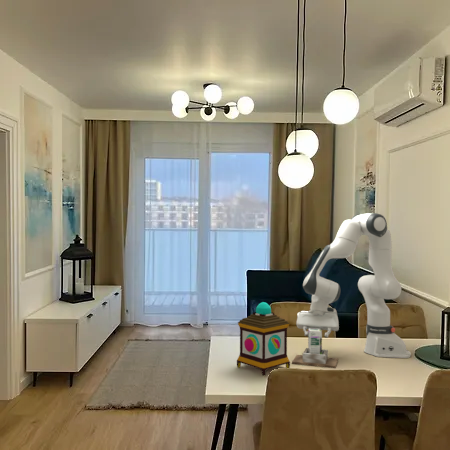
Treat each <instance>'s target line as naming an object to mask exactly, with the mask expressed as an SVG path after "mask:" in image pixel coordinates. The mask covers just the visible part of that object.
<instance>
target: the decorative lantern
mask: <svg viewBox="0 0 450 450" xmlns="http://www.w3.org/2000/svg"><path fill="white" fill-rule="evenodd" d="M237 325H238V327H239V355H238V357H237V360H236V367H237V368H238V369H239V368H241V366H242V365H241V364H244V365H246V366H250V367H252V368H256V369H259V370H260V371H261V374H262V376H263V377H265V376H266V372H267V370H269V369H273V368H275V367H281V366H284V365H285V368H286V369H287V368H289V369H290V368H291V361H290V359H289V357H288V328H289V326H290V322H288V320H285V318H282V317H279V316H278V315H277V314H276V313H275V312H272V308H271V306H270V304H268V303H267V302H264V301H262V302H260V303H258V305H257V306H256V308H255V311H254V312H252V313H251V314H250V315H248V316H247V317H242V318H241V319H240V320H239V321H237Z"/></svg>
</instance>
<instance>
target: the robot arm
mask: <svg viewBox="0 0 450 450" xmlns="http://www.w3.org/2000/svg"><path fill="white" fill-rule="evenodd" d="M361 236H367V237H368V239H369V246H368V265H369V266H370V267H371V269H372V270H373V274H367V275H363V276H361V277H359V279H358V282H357V287H358V290H359V292H360V294H362V296H363V299H364V301H365V306H366V310H367V311H366V312H367V313H366V314H367V318H366V319H367V322H366V325H365V326H366V327H365V328H366V329H365V330H366V331H365V332H366V340H365V347H364V349H363V352H364V353H366V354H368V355H372V356H375V357H377V358H399V359H401V358H402V359H409V358H410V357H411V356H412V355H411V354H412V353H411V351H410V350H408V349H407V347H406V342H405V341H404V339H402V338H401V337H400V336H399V335H397V334H396V333H395V332H396V328H395V327H394V326H393V325H391V310H390V308H389V307H388V305H387V304H386V301H385V300H395V299H397V298H398V297H400V295H401V294H402V293H401V292H402V285H401V283H400V281H399V280H398V279H397V278H396V275H395V273H394V270H393V266H392V265H393V264H392V252H393V251H392V249H393V244H392V242H393V241H392V234H391V231H390V230H389V229H388V224H387V219H386V218H385V216H384V215H383V214H380V213H377V212H375V213H373V212H372V213H371V212H370V213H369V212H367V213H359V214H356V215H353V216H352V217H351V218H350V219H345V220H344V221H343V222H342V223H341V224H340V226H339V229H338V231H337V233H336V235H335V238H334V240H333V241H332V242H331V243H330V244H327V245H325V246H324V248H323V249H322V251H321V252H320V254H319V255H318V257H317V258H316V260H315V262H314V263H313V265H312V267H311V268H310V270H309V272H308V273H307V275H306V276H305V278H304V280H303V283H302V288H303V290H304V292H305V293H306V294H308V295H311V303H310V307H309V310H300V311H299V312H298V311H297V316H296V317H297V318H296V327H297V328H298V329H302V331H303V333H304V337H308V329H321V331H327V332H324V338H327V339H328V338H329V335H330V334H331V332H332V331H333V332H334V331H335V332H338V331H339V330H340V329H339V328H340V326H339V325H340V324H339V323H340V322H339V317H338V312H337V310H336V308H333V307H330V306H329V304H332V303H335V302H337V301H338V300H339V298H340V296H341V292H342V291H341V286H340V284H339V283H337V282H335V281H333V280H331V279H327V278H325V277H323V276H320V274H321V272H322V270H323V268H324V267H325V265H326V264H327V262H328V261H329V260H331V259H347V258H349V257H350V256H352V255H353V254H354V253H355V251H356V248H357V245H358V243H359V239H360V237H361Z"/></svg>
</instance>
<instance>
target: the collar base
mask: <svg viewBox="0 0 450 450" xmlns="http://www.w3.org/2000/svg"><path fill="white" fill-rule="evenodd" d="M338 362H339V358H337V357H329V350H328V349H323V348H322V354H311V353H308V347H306V348H305V349H304V351H303V352H302V354H296V355H295V357H294V358H293V360H291V364H292V365H301V366H308V367H320V368H321V367H322V368H330V369H336V367H337V365H338Z"/></svg>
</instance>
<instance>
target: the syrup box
mask: <svg viewBox="0 0 450 450" xmlns="http://www.w3.org/2000/svg"><path fill="white" fill-rule="evenodd" d="M307 331H308V336H307V341H308V342H307V343H308V345H307V346H308V347H307V348H308V353H311V354H322V349H323V330H321V329H307Z"/></svg>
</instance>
